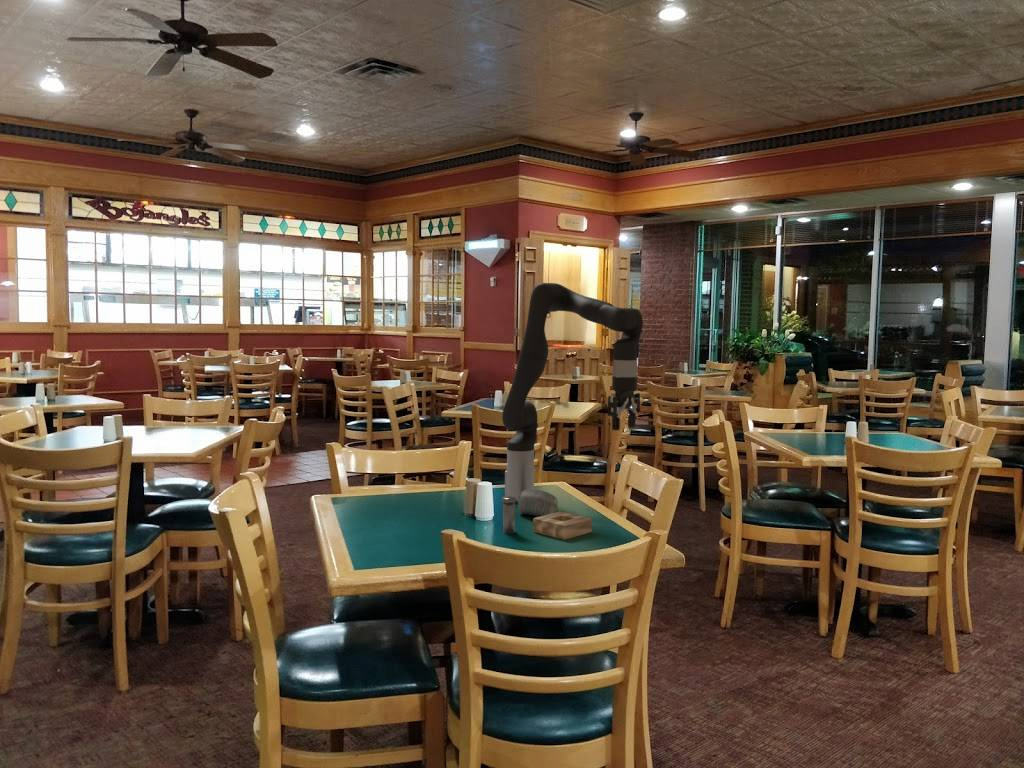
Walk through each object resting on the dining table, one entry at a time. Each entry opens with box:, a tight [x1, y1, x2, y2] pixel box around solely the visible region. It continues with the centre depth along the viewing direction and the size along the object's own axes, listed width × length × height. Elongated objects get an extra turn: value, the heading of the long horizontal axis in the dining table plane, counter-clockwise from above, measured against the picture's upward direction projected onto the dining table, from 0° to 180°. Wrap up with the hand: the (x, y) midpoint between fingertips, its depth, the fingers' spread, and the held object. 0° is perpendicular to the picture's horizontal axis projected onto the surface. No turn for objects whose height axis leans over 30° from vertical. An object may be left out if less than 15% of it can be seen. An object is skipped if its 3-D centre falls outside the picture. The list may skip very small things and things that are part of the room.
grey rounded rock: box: [517, 489, 559, 517], centre depth 257 cm, size 14×10×10 cm
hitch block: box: [532, 511, 593, 541], centre depth 239 cm, size 12×12×4 cm
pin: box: [501, 496, 517, 534], centre depth 238 cm, size 4×4×10 cm
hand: (623, 428), depth 247 cm, fingers open, 8 cm apart
